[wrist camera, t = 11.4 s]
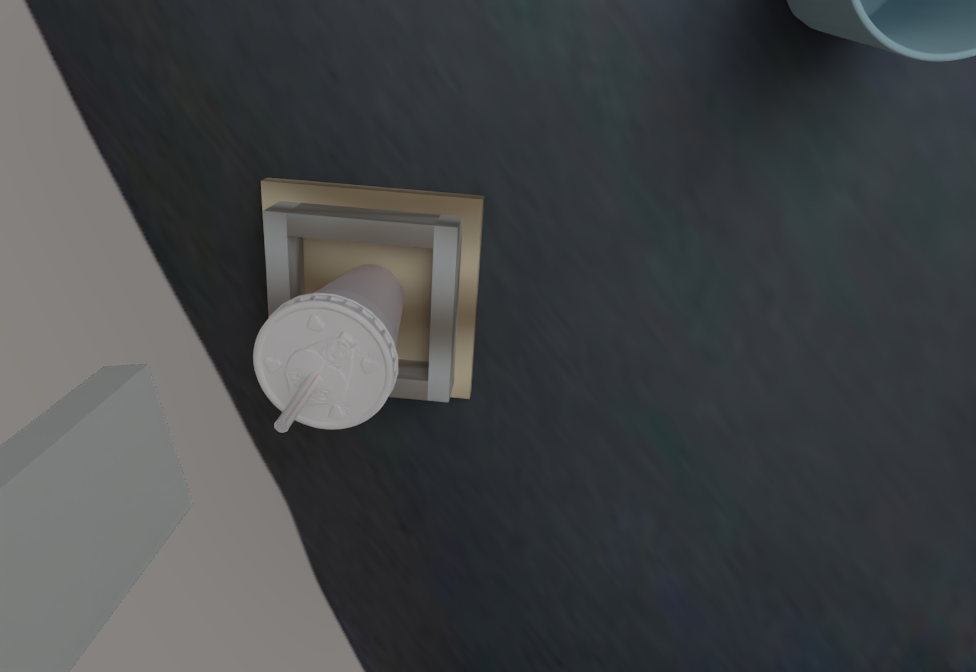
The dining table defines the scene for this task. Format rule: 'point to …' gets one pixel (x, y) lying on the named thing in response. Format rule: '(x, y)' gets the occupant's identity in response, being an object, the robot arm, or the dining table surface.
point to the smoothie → (333, 350)
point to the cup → (897, 25)
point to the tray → (386, 266)
